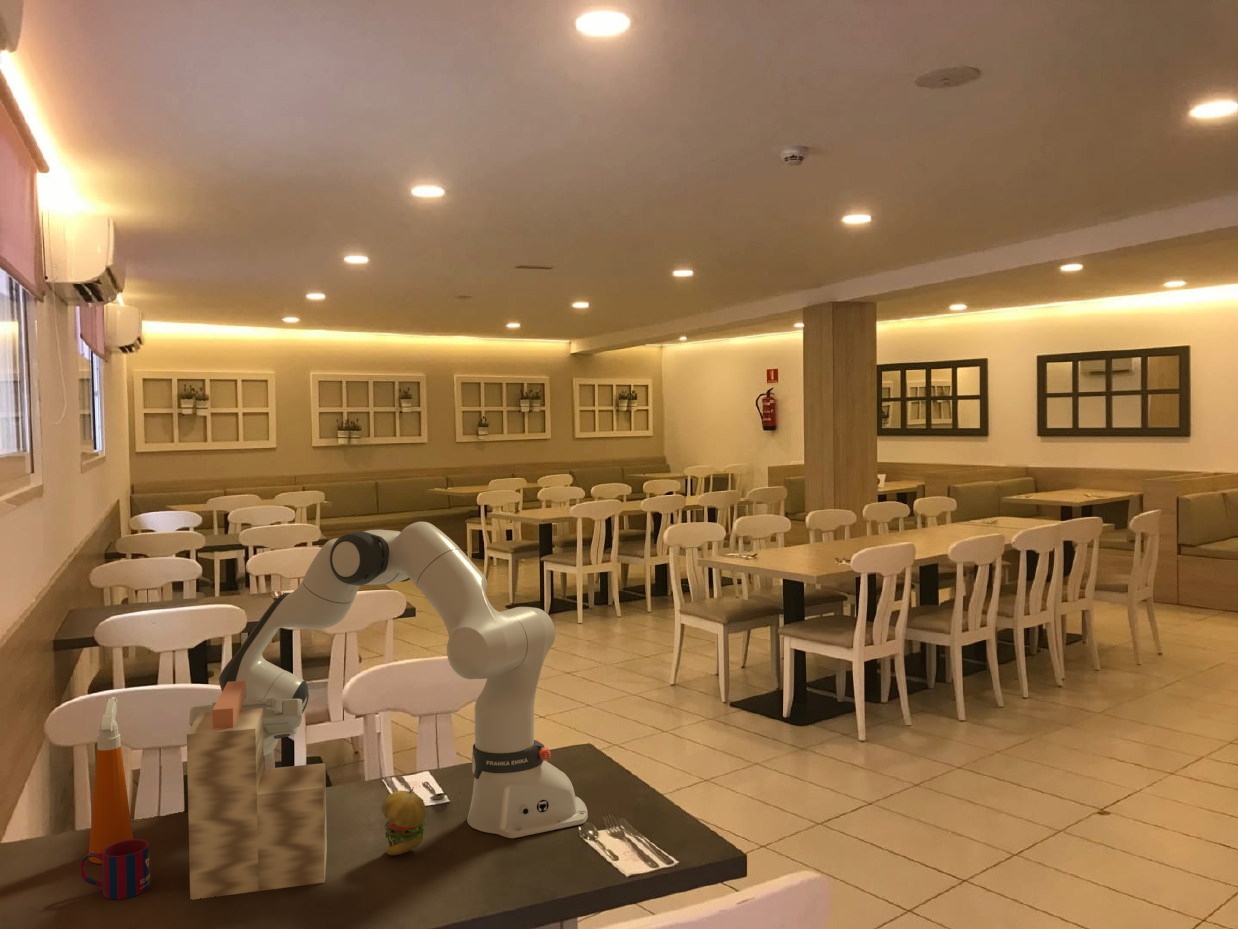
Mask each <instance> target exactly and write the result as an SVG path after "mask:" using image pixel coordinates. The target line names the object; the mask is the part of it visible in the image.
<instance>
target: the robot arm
mask: <svg viewBox="0 0 1238 929" xmlns="http://www.w3.org/2000/svg"><path fill="white" fill-rule="evenodd" d="M410 580H411V582H412V583H413V584H414V585H415V587H416V588H417V589H418V590H419V591H420V593H421V594H422V595H423V596H424V597H425V598H426V600H427V601H428V602H429V603H430V605H431V606H432V607H433V608H434V609H435V611H436V612H437V613H438V614H439V616H440V618H441V619H442V621H443V623H444V626H445V628H446V631H447V633H448V640H447V643H446V644H447V645H446V656H447V660H448V664H449V665H450V667H451V669H452V670H453V672H455V673H456V674H457V675H458V676H459V677H461V678H463V679H466V680H483V679H484V680H485V679H486V681H485V684H484V686H483V689H482V691H481V692H480V693H479V695H478V697H477V698H476V701H475V703H474V704H475V705H474V744H473V745H472V753H471V768H472V774H473V777H474V778H473V789H472V796H471V802H470V806H469V812H468V815H467V819H466V821H467V824H468V825H469V826H470V827H471V828H473V829H475V830H478V831H479V832H484V833H489V834H496V835H498V836H502V837H504V838H506V839H507V838H508V839H515V838H516V839H517V838H520V837H525V836H526V837H527V836H530V835H535V834H541V833H545V832H551V831H554V830H560V829H564V828H568V827H574V826H579V825H582V824H585V823H586V822H587V820H588V818H589V815H588V813H589V812H588V808H587V806H586V803H585V802H584V801H583V800H582V799H581V798H580V797H578V796H577V795H576V794H575V788H574V786H573V784H572V781H571V780H570V778H569V777H568V776H567V774H566V773H565V772H563V771H562V770H560V769H559V768H557V767H556V766H554V765H553V764H551V763H550V762H548V760H550V758H551V756H552V754H551V751H550V750H549V748H548V747H546V746H545V745H544V744H543V743H542V742H540V741H539V739H535V700H536V695H537V689H538V685H539V680H540V678H541V677H540V676H541V672H542V668H543V666H544V662H545V660H546V658H547V655H548V653H549V651H550V650H551V649H552V647H553V645H554V643H555V638H556V629H555V625H554V622H553V619H552V618H551V617H550V615H549V614H548V613H547V612H546V611H545V610H543V609H541V608H538V607H531V606H518V607H517V606H516V607H513V608H510V609H505V610H502V611H498V610H496V609H495V607H493V605H492V604H491V603H490V601H489V599H488V596H487V590H488V580H487V578H486V576H485V575H484V573H483V572H482V571H481V570H480V569H479V568H478V567H477V566H476V565H475V563H474V562H473V561H472V560H471V559H470V558H469V557H468V556H467V555H466V553H465V552H464V551H463V550H462V549H461V547H459V546H458V545H457V543H455V542H454V541H453V539H451V538H450V537H449V536H448V535H446V534H445V533H444V532H443V530H440V528H438V527H436V526H435V525H434V524H432V523H430V522H427V521H417V522H416V521H415V522H413V523H411V524H409V525H407V526H406V527H404V528H403V529H402V530H401V529H400V530H392V529H391V530H390V529H369V530H356V531H355V530H354V531H352V532H348V533H346V534H344V535H341V536H340V537H339V538H338V537H337V538H332V539H330V540H328V541H327V542H325V543H324V545H322V547H321V548H320V550H319V551H318V553H317V554H316V555H315V557H314V558H313V559H312V562H311V563H310V565H309V567H308V569H307V570H306V572H305V575H304V576H303V579H302V582H301V583H300V585H298V586H297V588H295V590H293V591H291V592H283V593H282V594H281V595H279V596H278V597H277V598H276V599H275V600H273V602H272V603H271V604H270V606H268V608H267V610H266V611H265V612H264V613H263V615H262V616H261V617H260V619H259V620H258V622H257V623H256V625H255V626H254V627H253V628H252V630H251V632H250V633H249V634H248V636H247V637H246V639H245V640H244V641H243V643H242V645H241V646H240V648H239V649H238V650H237V652H236V653H235V654H234V655H233V656H232V658H230V660H229V661H227V663H226V664H225V666H223V669H222V671H221V673H220V675H219V677H218V682H219V687H220V690H221V692H222V691H223V689H224V688H225V686H226V684H227V682H232V681H246V699H245V701H244V703H243V706H242V708H241V710H243V709H256V708H263V747H264V757H265V756H267V755H268V754H270V753H271V752H272V751H273V750H274V749H276V746H277V745H278V743H279V740H280V739H282V738H283V739H284V738H287V737H292V736H294V735H297V730H298V728H299V727H300V726H301V724H302V720H303V713H304V712H305V710H306V707H307V706H308V705H307V704H308V702H309V699H310V698H309V696H310V695H309V693H310V692H309V687H308V686H309V685H308V683H307V681H306V680H304V679H303V678H301V677H299V676H298V675H296V674H293V673H292V672H290V671H288V670H285V669H283V668H281V667H279V666H278V665H275V664H273V663H272V662H270V661H268V660H266V658H264V657H263V652H264V651H265V649H266V648H267V647H268V645H269V644H270V642H271V641H272V640H273V638H274V637H275V635H276V634H277V632H278V631H279V630H280V629H281V628H296V629H298V628H299V629H304V630H324V629H328V628H331V627H333V626H335V625H337V624H339V623H340V622H341V621H342V620H344V618H345V616H346V615H347V613H348V612H349V610H350V608H351V607H352V604H353V602H354V600H355V598H356V596H357V593H358V591H359V590H360V588H361V586H366V585H367V586H368V585H369V586H375V585H377V586H386V585H391V584H396V583H399V582H401V583H404V582H407V581H410ZM216 702H217V701H216ZM216 702H215V701H214V702H212V703H211V704H205V705H204V704H203V705H195V706H193V707H191V708H190V711H189V720H188V721H189V726H190V727H191V726H192V725H193V723H194V721H195V719H196V718H197V716H198V714H199V713H206V712H213V708H214V706H215V704H216Z"/></svg>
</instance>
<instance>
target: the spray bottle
mask: <svg viewBox="0 0 1238 929" xmlns="http://www.w3.org/2000/svg"><path fill="white" fill-rule="evenodd" d="M117 704H118V699H117V697H115V696H112V697H109V698H107V699H106V704H105V709H104V710H103V715H102V719H101V723H100V725H99V729H98V735H99V736H98V737H97V740H96V742H97V749H96V761H95V773H94V786H93V798H92V807H91V808H92V809H91V810H92V811H91V821H90V822H91V823H90V834H89V847H88V848H89V849H88V854H90V853H102V851H103V850H104V849H105V848H106V847H107V846H109V845H111V844H113V843H116V842H119V841H123V840H129V839H134V835H133V826H132V821H131V820H132V819H131V812H130V804H129V798H128V790H127V782H126V774H125V768H124V767H125V766H124V759H123V750H122V744H121V741H122V740H121V734H120V733H119V725H118V723H117V721H116V716H117V711H118V706H117ZM88 861H89V862H91V863H93V864H96V865H97V864H99V865H102V860H100V859H99V858H96V857H89V858H88Z"/></svg>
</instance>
